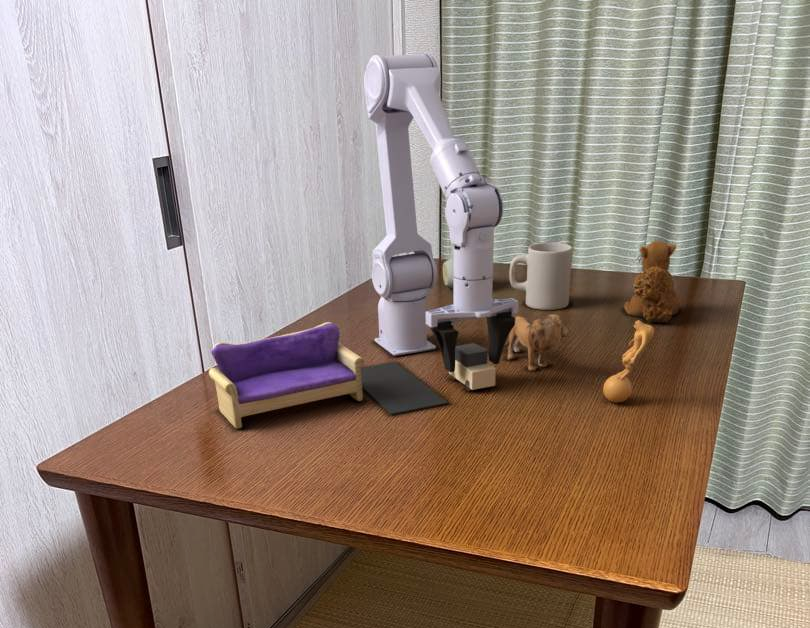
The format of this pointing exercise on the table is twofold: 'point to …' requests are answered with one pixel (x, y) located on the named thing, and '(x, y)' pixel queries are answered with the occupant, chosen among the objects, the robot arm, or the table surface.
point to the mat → (398, 389)
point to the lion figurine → (536, 337)
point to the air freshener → (448, 270)
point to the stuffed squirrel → (654, 285)
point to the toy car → (473, 367)
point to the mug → (545, 275)
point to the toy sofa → (284, 372)
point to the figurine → (627, 365)
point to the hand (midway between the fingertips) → (472, 366)
